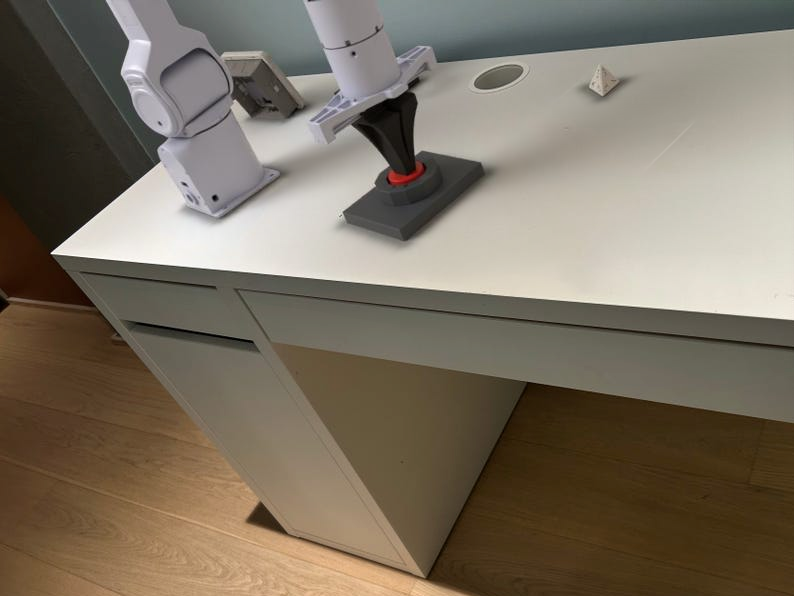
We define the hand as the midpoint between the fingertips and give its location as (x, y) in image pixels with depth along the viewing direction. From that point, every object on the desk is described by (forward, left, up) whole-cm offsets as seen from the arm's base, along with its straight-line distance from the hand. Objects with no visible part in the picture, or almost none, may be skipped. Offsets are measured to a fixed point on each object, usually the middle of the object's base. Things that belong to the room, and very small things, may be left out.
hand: (405, 171), depth 72 cm
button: (0, 0, -2) cm, 2 cm away
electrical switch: (+9, +39, -3) cm, 40 cm away
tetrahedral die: (+24, -6, -3) cm, 25 cm away
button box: (0, 0, -3) cm, 3 cm away
